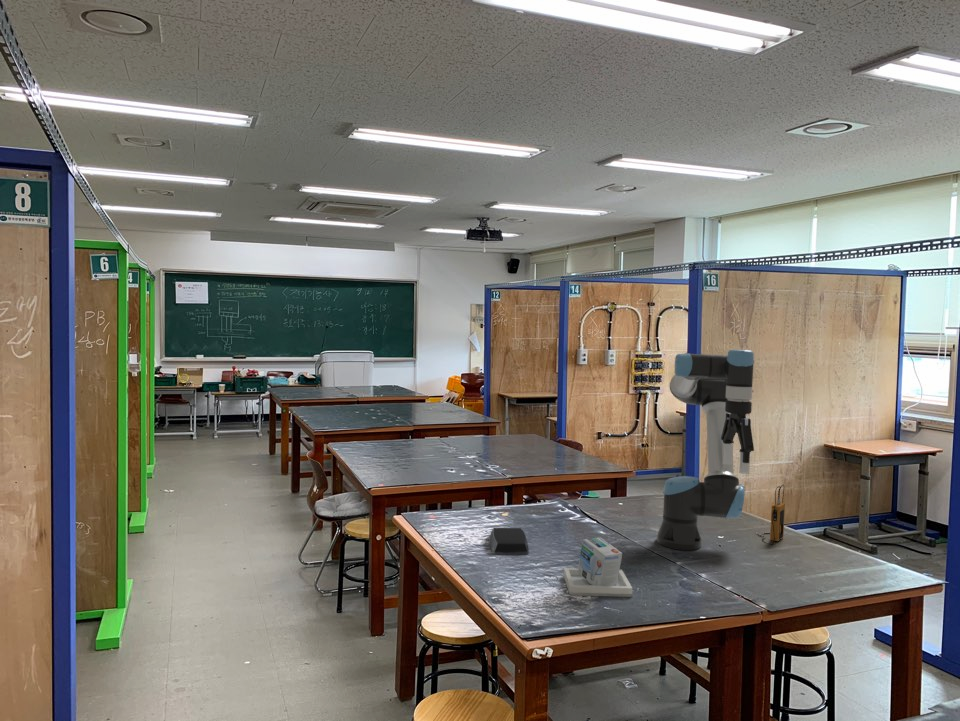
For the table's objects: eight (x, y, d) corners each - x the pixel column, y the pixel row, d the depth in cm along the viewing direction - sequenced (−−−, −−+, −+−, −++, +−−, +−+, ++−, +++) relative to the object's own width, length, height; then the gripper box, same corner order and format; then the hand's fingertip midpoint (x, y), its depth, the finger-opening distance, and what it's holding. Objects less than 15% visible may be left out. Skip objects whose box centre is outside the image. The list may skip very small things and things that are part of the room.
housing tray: (563, 576, 201) (564, 568, 200) (621, 577, 200) (621, 569, 200) (569, 595, 186) (570, 586, 186) (632, 597, 186) (632, 588, 186)
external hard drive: (490, 555, 219) (491, 543, 219) (488, 537, 238) (488, 525, 238) (530, 555, 219) (530, 543, 219) (524, 537, 239) (525, 526, 238)
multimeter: (758, 530, 254) (760, 478, 253) (786, 536, 247) (789, 482, 246) (745, 539, 242) (748, 484, 241) (774, 545, 236) (777, 489, 235)
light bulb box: (576, 572, 196) (582, 538, 194) (594, 569, 200) (600, 536, 198) (598, 591, 187) (604, 555, 185) (617, 588, 190) (623, 553, 188)
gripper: (768, 405, 192) (764, 477, 193) (735, 396, 217) (732, 460, 218) (742, 404, 192) (738, 477, 193) (712, 395, 217) (709, 460, 218)
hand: (735, 468), depth 205 cm, fingers open, 13 cm apart
